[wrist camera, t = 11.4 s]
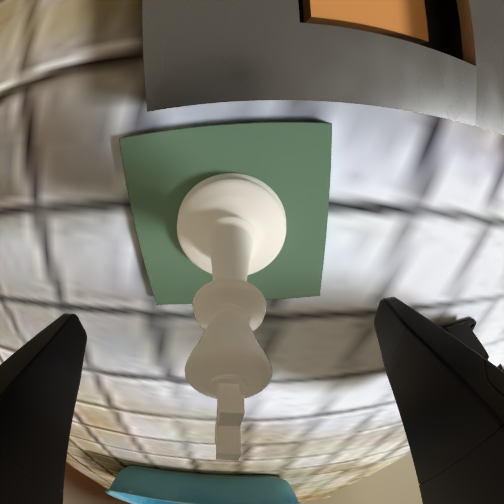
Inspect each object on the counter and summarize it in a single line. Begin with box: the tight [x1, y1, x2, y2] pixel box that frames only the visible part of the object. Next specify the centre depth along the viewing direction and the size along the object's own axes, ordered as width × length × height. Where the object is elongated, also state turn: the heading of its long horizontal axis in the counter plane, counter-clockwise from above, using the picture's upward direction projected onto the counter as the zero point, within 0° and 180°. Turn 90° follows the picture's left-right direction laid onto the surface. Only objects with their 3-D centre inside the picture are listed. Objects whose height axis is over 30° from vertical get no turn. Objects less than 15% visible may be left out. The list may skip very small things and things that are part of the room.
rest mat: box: [119, 121, 332, 305], centre depth 13 cm, size 9×9×1 cm
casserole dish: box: [105, 466, 299, 504], centre depth 37 cm, size 37×22×7 cm, turn 86°
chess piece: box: [177, 173, 286, 460], centre depth 9 cm, size 5×5×10 cm
